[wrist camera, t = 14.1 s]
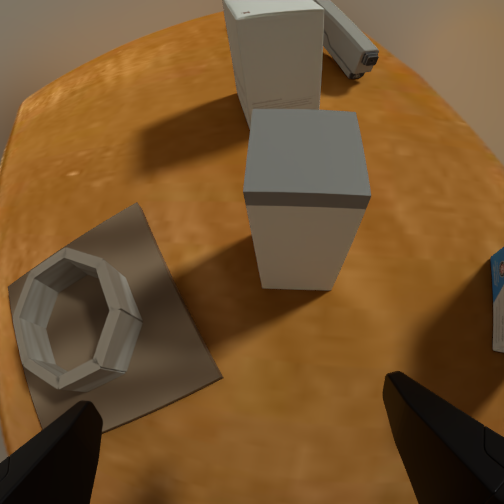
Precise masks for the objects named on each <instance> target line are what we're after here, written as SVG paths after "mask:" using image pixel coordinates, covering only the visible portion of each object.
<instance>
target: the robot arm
mask: <svg viewBox="0 0 504 504" xmlns="http://www.w3.org/2000/svg"><path fill="white" fill-rule="evenodd" d="M383 401H384V404H385V408H386V411H387V415H388V419H389V422H390V426H391V430H392V434H393V437H394V441H395V443H396V446H397V449H398V451H399V454H400V456H401V459H402V461H403V464H404V466H405V469H406V471H407V474H408V477H409V479H410V482H411V485H412V487H413V490H414V493H415V495H416V498H417V501H418V503H419V504H504V437H503V436H501V435H499V434H498V433H496V432H494V431H493V430H491V429H489V428H488V427H486V426H485V427H484V425H483V424H481V423H480V422H478V421H477V420H475V419H473V418H472V417H470V416H469V415H467V414H466V413H464V412H462V411H461V410H459V409H458V408H456V407H455V406H453V405H452V404H450V403H448V402H447V401H445V400H444V399H442V398H441V397H439V396H438V395H436V394H435V393H433V392H431V391H430V390H428V389H427V388H425V387H424V386H422V385H421V384H419V383H418V382H416V381H415V380H413V379H411V378H410V377H408V376H407V375H405V374H404V373H402V372H400V371H395V372H392V373H388V374H387V375H386V376H385V382H384V388H383ZM102 428H103V419H102V417H101V415H100V413H99V412H98V410H97V409H96V407H95V405H94V404H93V403H92V402H91V401H85V400H81V401H79V402H77V403H76V404H75V405H73V406H72V407H71V408H70V409H68V410H67V411H66V412H65V413H63V414H62V415H61V416H60V417H58V418H57V419H56V420H54V421H53V422H52V423H51V424H49V425H48V426H47V427H46V428H44V429H43V430H42V431H41V432H39V433H38V434H37V435H35V436H34V437H33V438H32V439H30V440H29V441H28V442H27V443H25V444H24V445H23V446H21V447H20V448H19V449H18V450H16V451H15V452H14V453H13V454H11V455H10V456H9V457H7V458H6V459H5V460H4V461H2V462H1V463H0V504H90V499H91V494H92V489H93V484H94V479H95V475H96V470H97V465H98V459H99V452H100V443H101V436H102Z"/></svg>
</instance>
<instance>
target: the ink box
mask: <svg viewBox="0 0 504 504" xmlns="http://www.w3.org/2000/svg"><path fill="white" fill-rule="evenodd" d="M490 260H491V271H492V287H493V350H494V351H498V352H504V247H503V248H502V249H500V250H499V251H498V252H497V253H495V254H494V255H493V256H491V259H490Z"/></svg>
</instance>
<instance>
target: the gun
mask: <svg viewBox="0 0 504 504" xmlns="http://www.w3.org/2000/svg"><path fill="white" fill-rule="evenodd" d="M313 1H314V2H316V3H317V4H318V5H320V6H321V7H322V8H323V9H324V32H323V46H324V47H325V49H326V50H327V51H328V52H329V54H330V55H331V56H332V57H333V59H334V60H335V61H336V62H337V64H338V65H339V66H340V67H341V69H342V70H343V71H344V73H345V74H346V75H347V77H348V78H349V79H350V78H351V79H354V78H360V77H362V76H363V75H364V73H365V72H371V70H372V67H373V65H375V64H376V62H377V60H378V58H379V57H378V53H379V50H378V49H377V48H376V47H375V45H374V44H373V43H372V42H371V41H370V40H369V39H368V38H367V37H366V36H365V35H364V33H363V32H362V31H361V30H360V29H359V28H358V27H357V26H356V25H355V24H354V23H353V22H352V21H351V20H350V19H349V18H348V17H347V16H346V15H345V14H344V13H343V12H342V11H341V10H340V9H339V8H338V7H337V6H335V5H334V4H333V3H332V2H331V1H330V0H313Z"/></svg>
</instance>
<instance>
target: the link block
mask: <svg viewBox="0 0 504 504" xmlns="http://www.w3.org/2000/svg"><path fill="white" fill-rule="evenodd" d="M243 193H244V198H245V203H246V208H247V213H248V218H249V223H250V228H251V233H252V238H253V244H254V249H255V254H256V259H257V264H258V269H259V274H260V279H261V284H262V288H267V289H295V290H331V289H332V287H333V285H334V283H335V281H336V278H337V276H338V274H339V272H340V270H341V267H342V265H343V263H344V260H345V258H346V256H347V254H348V251H349V249H350V247H351V244H352V242H353V240H354V237H355V235H356V232H357V230H358V228H359V225H360V223H361V220H362V218H363V215H364V213H365V210H366V208H367V205H368V203H369V200H370V197H371V192H370V185H369V179H368V172H367V167H366V161H365V155H364V150H363V145H362V140H361V135H360V130H359V125H358V120H357V116H356V112H346V111H331V110H310V109H253V111H252V119H251V127H250V136H249V145H248V153H247V162H246V171H245V180H244V189H243Z"/></svg>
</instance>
